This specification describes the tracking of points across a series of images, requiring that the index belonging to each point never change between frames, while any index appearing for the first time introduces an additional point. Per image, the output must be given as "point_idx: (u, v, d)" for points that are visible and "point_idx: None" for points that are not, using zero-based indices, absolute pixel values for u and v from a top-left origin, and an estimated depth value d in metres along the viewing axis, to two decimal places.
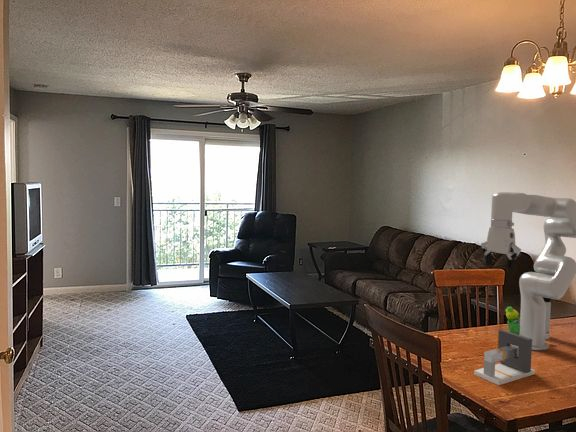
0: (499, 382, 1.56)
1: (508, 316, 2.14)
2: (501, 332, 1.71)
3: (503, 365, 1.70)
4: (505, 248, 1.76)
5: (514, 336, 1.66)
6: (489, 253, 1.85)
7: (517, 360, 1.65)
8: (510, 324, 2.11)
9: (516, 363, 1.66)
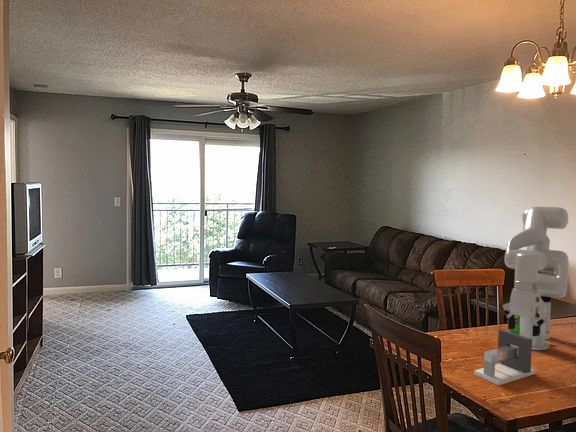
0: (499, 382, 1.56)
1: None
2: (501, 332, 1.71)
3: (503, 365, 1.70)
4: (531, 313, 1.64)
5: (514, 336, 1.66)
6: (512, 315, 1.73)
7: (517, 360, 1.65)
8: None
9: (516, 363, 1.66)
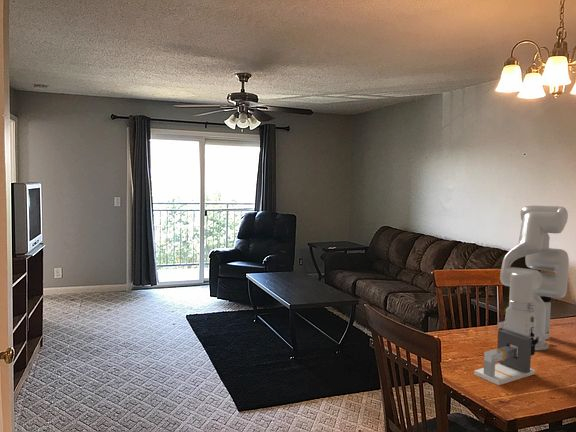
0: (499, 382, 1.56)
1: None
2: (500, 332, 1.70)
3: (503, 365, 1.70)
4: (525, 333, 1.63)
5: (513, 336, 1.66)
6: None
7: (516, 360, 1.65)
8: None
9: (515, 363, 1.65)
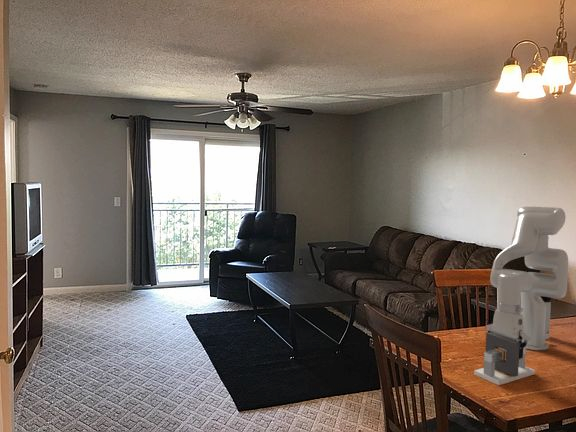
0: (499, 382, 1.56)
1: None
2: (488, 335, 1.67)
3: None
4: (513, 336, 1.60)
5: (501, 339, 1.63)
6: None
7: (504, 364, 1.62)
8: None
9: (503, 367, 1.62)
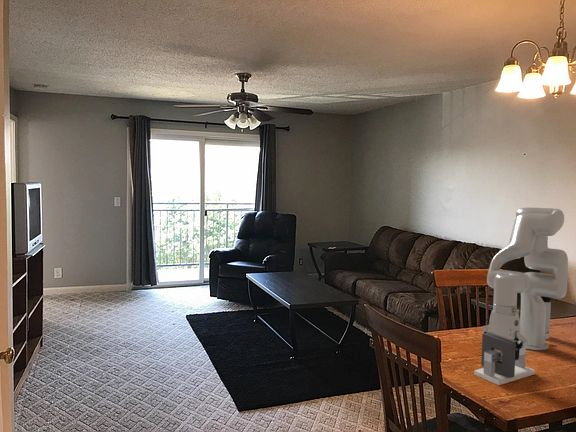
0: (499, 382, 1.56)
1: None
2: (485, 336, 1.66)
3: None
4: (509, 337, 1.59)
5: (498, 340, 1.62)
6: None
7: (501, 365, 1.61)
8: None
9: (500, 368, 1.61)
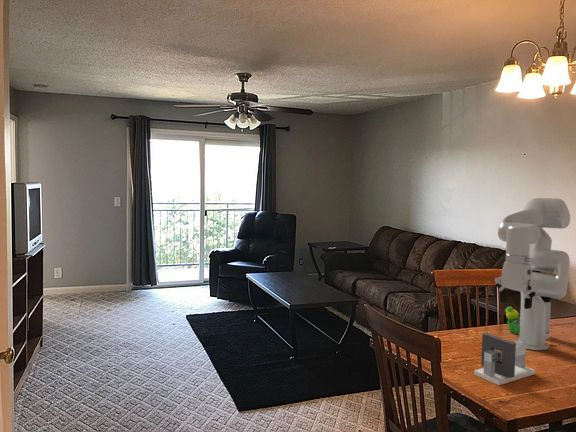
0: (499, 382, 1.56)
1: (508, 316, 2.14)
2: (485, 336, 1.66)
3: None
4: (522, 286, 1.63)
5: (498, 340, 1.62)
6: (504, 289, 1.72)
7: (501, 365, 1.61)
8: (510, 324, 2.11)
9: (500, 368, 1.61)
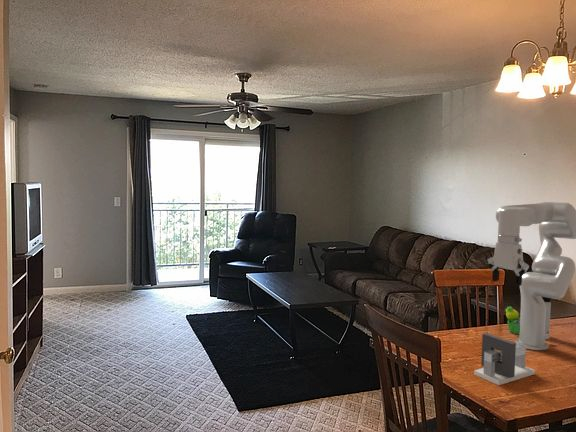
0: (499, 382, 1.56)
1: (508, 316, 2.14)
2: (485, 336, 1.66)
3: None
4: (513, 264, 1.73)
5: (498, 340, 1.62)
6: (496, 268, 1.82)
7: (501, 365, 1.61)
8: (510, 324, 2.11)
9: (500, 368, 1.61)
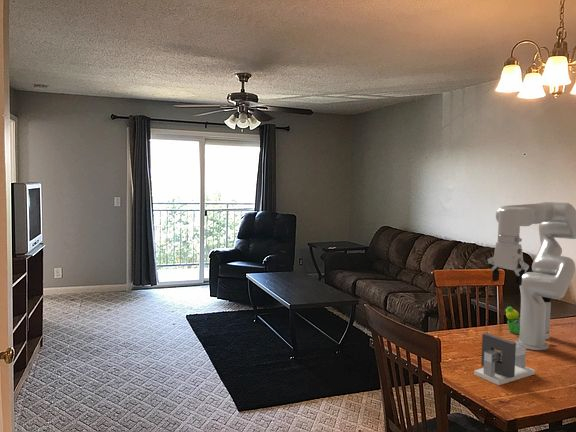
0: (499, 382, 1.56)
1: (508, 316, 2.14)
2: (485, 336, 1.66)
3: None
4: (513, 264, 1.73)
5: (498, 340, 1.62)
6: (496, 268, 1.82)
7: (501, 365, 1.61)
8: (510, 324, 2.11)
9: (500, 368, 1.61)
